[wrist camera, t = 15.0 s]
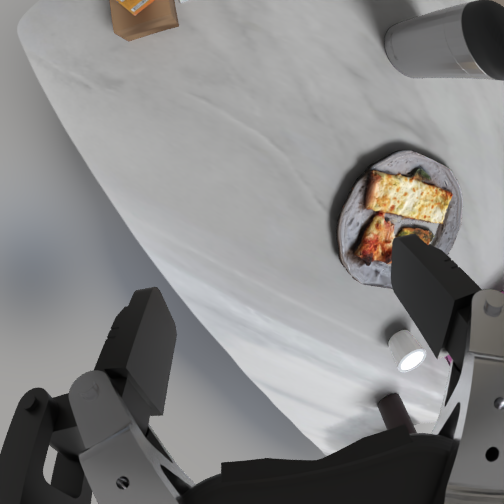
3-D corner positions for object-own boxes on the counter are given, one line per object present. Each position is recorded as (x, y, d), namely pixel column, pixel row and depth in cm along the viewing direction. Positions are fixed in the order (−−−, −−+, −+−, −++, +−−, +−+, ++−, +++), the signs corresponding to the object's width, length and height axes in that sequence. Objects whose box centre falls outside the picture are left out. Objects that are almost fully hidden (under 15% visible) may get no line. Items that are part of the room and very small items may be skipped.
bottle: (392, 405, 72) (416, 460, 54) (373, 409, 71) (395, 466, 53) (403, 391, 69) (429, 448, 51) (383, 394, 68) (409, 454, 50)
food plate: (313, 271, 48) (320, 283, 45) (360, 129, 38) (371, 132, 35) (423, 287, 53) (432, 297, 50) (468, 179, 43) (480, 184, 40)
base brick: (171, -14, 27) (163, -30, 21) (179, 26, 30) (171, 14, 25) (122, 1, 27) (108, -11, 21) (129, 41, 30) (113, 32, 25)
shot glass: (396, 325, 56) (411, 348, 50) (417, 329, 57) (432, 350, 51) (380, 349, 59) (391, 372, 53) (401, 351, 60) (413, 373, 54)
